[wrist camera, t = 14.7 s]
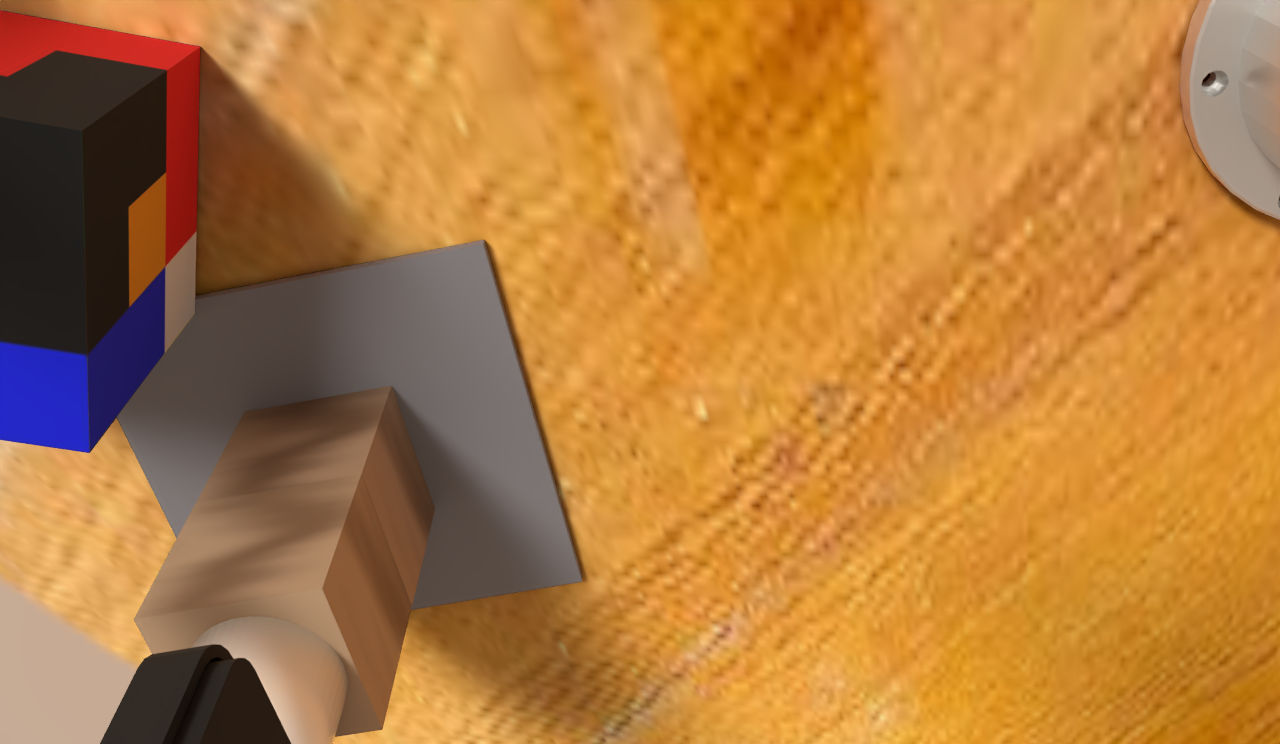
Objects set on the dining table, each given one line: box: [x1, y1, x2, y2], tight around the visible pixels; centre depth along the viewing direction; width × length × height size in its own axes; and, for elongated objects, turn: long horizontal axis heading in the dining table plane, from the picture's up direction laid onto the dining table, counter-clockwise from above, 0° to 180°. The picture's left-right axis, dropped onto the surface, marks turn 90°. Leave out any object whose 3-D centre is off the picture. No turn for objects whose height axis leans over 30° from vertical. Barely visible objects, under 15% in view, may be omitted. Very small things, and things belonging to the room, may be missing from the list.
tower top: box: [134, 474, 412, 737], centre depth 40 cm, size 6×6×6 cm
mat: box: [117, 240, 582, 610], centre depth 48 cm, size 16×16×1 cm
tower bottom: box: [196, 386, 435, 606], centre depth 46 cm, size 6×6×6 cm
